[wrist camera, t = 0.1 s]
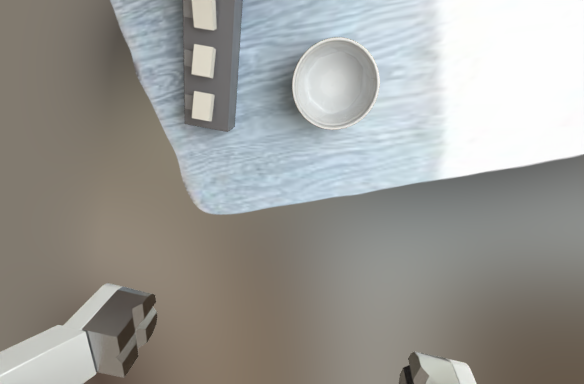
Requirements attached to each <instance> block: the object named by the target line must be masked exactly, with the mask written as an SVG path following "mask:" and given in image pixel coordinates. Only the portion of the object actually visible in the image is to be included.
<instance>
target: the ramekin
mask: <svg viewBox="0 0 584 384" xmlns="http://www.w3.org/2000/svg"><path fill="white" fill-rule="evenodd" d="M379 87H380V77H379V71H378V67H377V65H376V62H375V60H374V58H373V57H372V55H371V54H370V52H369V51H368V50H367V49H366V48H365V47H364V46H362V45H361V44H360V43H358V42H356V41H354V40H351V39H348V38H344V37H333V38H328V39H325V40H322V41H320V42H318V43H316V44H314V45H313V46H312V47H310V48H309V49H308V50H307V51H306V52H305V53H304V54H303V56H302V57H301V58H300V60H299V62H298V63H297V66H296V68H295V71H294V74H293V79H292V93H293V98H294V101H295V104H296V106H297V108H298V110H299V112H300V113H301V114H302V116H303V117H304V118H305V119H306V120H307V121H309V122H310V123H312V124H313V125H315V126H317V127H320V128H323V129H329V130H337V129H343V128H347V127H350V126H352V125H354V124H356V123H357V122H359V121H360V120H362V119H363V118H364V117H365V116H366V115H367V114H368V113H369V111H370V110H371V109H372V107H373V105H374V103H375V101H376V99H377V96H378V93H379Z"/></svg>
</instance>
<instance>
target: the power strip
mask: <svg viewBox="0 0 584 384" xmlns="http://www.w3.org/2000/svg"><path fill="white" fill-rule="evenodd" d="M215 2H216V25H217V29H215V30H214V31H213V30H207V29H201V28H195V27H194V21H193V10H192V0H183V43H184V104H185V124H189V125H195V126H200V127H205V128H210V129H215V130H221V131H226V132H228V131H230V130H231V129H232V128H233V127H235V113H236V97H237V81H238V66H239V50H240V34H241V18H242V2H243V0H215ZM194 44H197V45H203V46H209V47H213V48H215V49H216V55H215V64H214V74H213V78H207V77H202V76H196V75H193V74H191V73H192V62H193V50H194ZM194 91H197V92H203V93H208V94H213V95H215V97H214V106H213V115H212V121H205V120H200V119H194V118H192V109H193V98H194Z"/></svg>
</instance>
